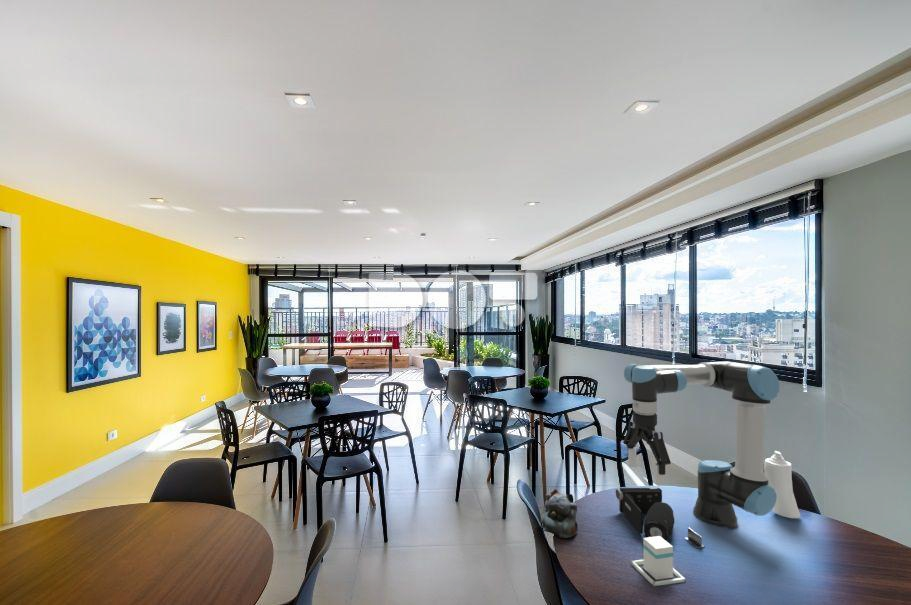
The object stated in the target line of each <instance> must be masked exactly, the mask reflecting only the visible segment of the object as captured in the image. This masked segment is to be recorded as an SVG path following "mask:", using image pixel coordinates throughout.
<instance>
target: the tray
mask: <svg viewBox="0 0 911 605" xmlns="http://www.w3.org/2000/svg"><path fill="white" fill-rule="evenodd" d="M630 562H631V563H630V564H631V566H632V567H633V568H635V570H637V572H639V573H640V575H641V576H643V577H644V578H645V579H646V580H647V581H648V582H649V583H650V584H651V585H652V586H653V587H656V586H663V585H664V586H665V585H670V584H671V585H672V584H678V583H680V584H681V583H686V578H685V577H684V576H683V575H682V574H680V572H679V571H678V570H676V569H675V568H674V567H673V575H675V576H676V578H669V579H662V580H656V581H655V580H653V579H652V578H651V577H650V576H649V575H648V574H647V573H646V572H645V571H644V570H643V568H641V567H640V566H641V565H642V566H643V565H644V559H637V560H631V561H630Z"/></svg>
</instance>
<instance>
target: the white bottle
mask: <svg viewBox="0 0 911 605" xmlns="http://www.w3.org/2000/svg"><path fill="white" fill-rule="evenodd" d="M773 453H774V454H772V455H771V456H770V457H768V458H764V470H763V472H764V473H765V474H766V475H767V476H768V479H769V480H768V485H769V486H771V487H772V488H774V490H775V491H776V494H777V499H776V503H775V505H774V507H773V509H772V511H773V512H774V513H775V514H777V515H779V516H782V517H785V518H789V519H799V518H801V517H802V516H801V513H800V510H799V508H798V505H797V500H796V497H795V493H794V489H793V488H794V487H793V479H792V478H793V477H792V476H793V475H792V472H793V471H792V470H793V467H792V463H791V462H789V461H786V460H785V457H783V455H782V453H781V452H780V451H778V450H774V452H773Z"/></svg>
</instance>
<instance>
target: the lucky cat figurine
mask: <svg viewBox="0 0 911 605" xmlns="http://www.w3.org/2000/svg"><path fill="white" fill-rule="evenodd" d="M545 498H546V500H545V502H544V508H545V511H544V512H545V513H543V515H541V518H540V523H541V524H542V528H543V531H544V532H547V533H549V534H550V533H551V534H552V535H555V536H556V537H559V538H561V539H567V538H571V537H573V536H575V535H576V534H577V533H578V532H579V529H578V527H579V526H578V522H577V519H576V518H577V512H578V505H577V503H575V502H574V500H575V499H574V496H573V494H572V493H570V494H565V493H560V492H559V490H558V489H557V488H554V490H552V492H548V493H545Z"/></svg>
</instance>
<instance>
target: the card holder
mask: <svg viewBox="0 0 911 605" xmlns="http://www.w3.org/2000/svg"><path fill="white" fill-rule="evenodd" d="M702 539H703V537H702V536H701V535H700V534H699V533H697V532H695V531H694V530H693V529H692V528H690V527H687V537H684V540H686V541H687V542H688V543H690V544H691V545H693V547H695V548H696V549H704V548H706V546H705V545H704V544H703V540H702Z"/></svg>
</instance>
